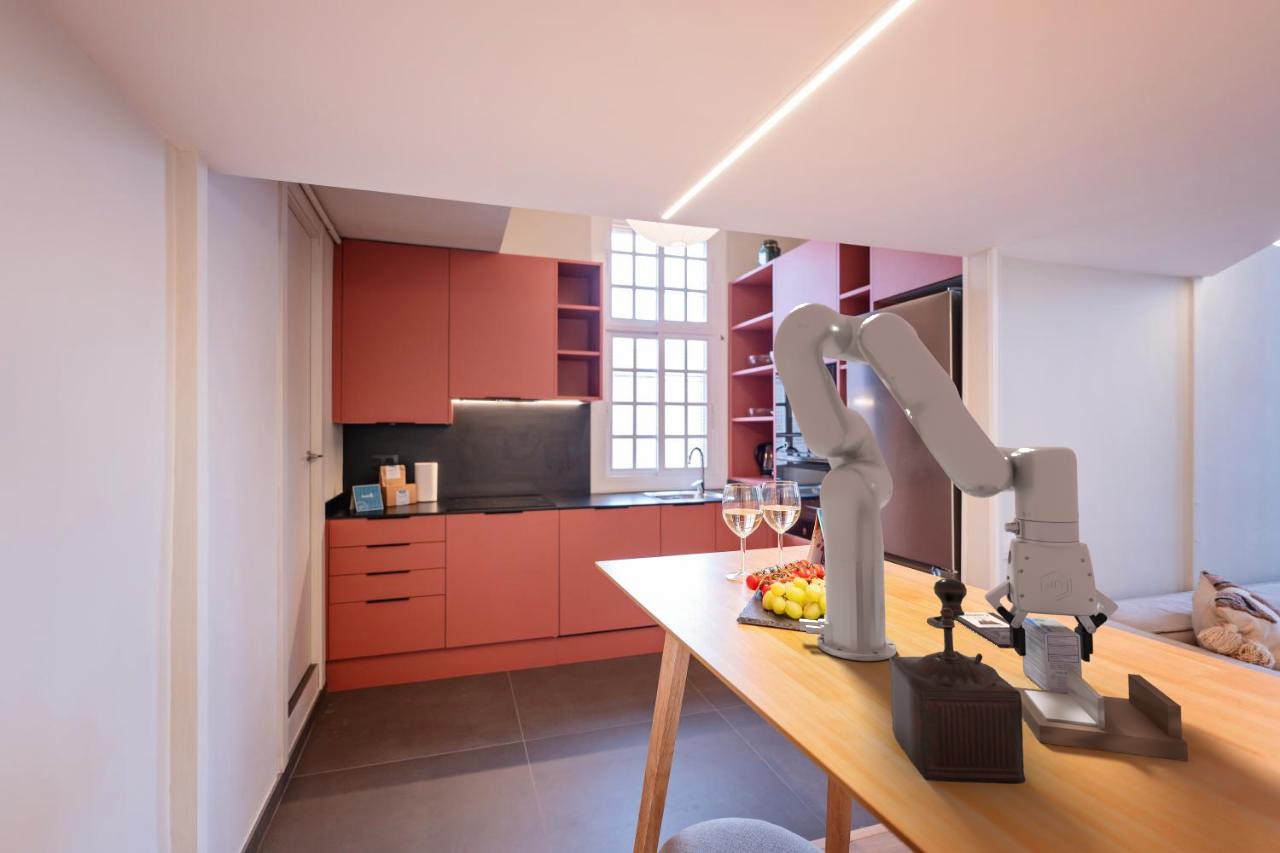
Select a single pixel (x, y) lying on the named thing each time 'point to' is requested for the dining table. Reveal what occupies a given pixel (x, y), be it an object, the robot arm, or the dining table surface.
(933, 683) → the brown coffee grinder
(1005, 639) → the chocolate bar
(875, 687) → the dining table surface
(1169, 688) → the dining table surface
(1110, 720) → the brown holder stand
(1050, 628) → the medicine box
